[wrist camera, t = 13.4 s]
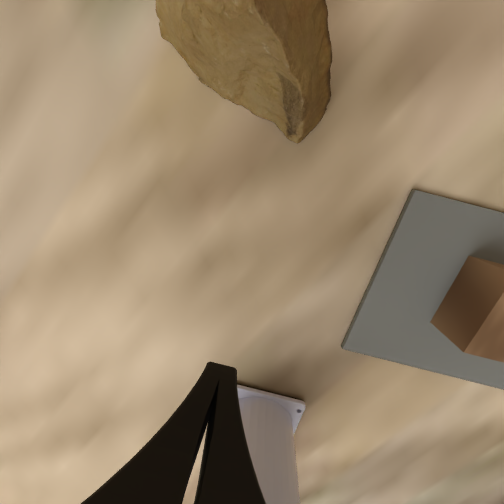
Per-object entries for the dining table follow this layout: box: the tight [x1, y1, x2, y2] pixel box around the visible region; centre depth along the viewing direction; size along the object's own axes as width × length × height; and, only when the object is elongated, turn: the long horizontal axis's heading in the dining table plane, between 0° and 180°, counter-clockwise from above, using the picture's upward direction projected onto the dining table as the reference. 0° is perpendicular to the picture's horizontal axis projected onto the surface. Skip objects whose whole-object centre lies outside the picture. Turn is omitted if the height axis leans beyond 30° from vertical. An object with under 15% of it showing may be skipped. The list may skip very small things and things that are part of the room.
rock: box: [156, 0, 332, 143], centre depth 12 cm, size 11×9×10 cm
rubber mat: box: [341, 189, 504, 390], centre depth 19 cm, size 14×16×1 cm
